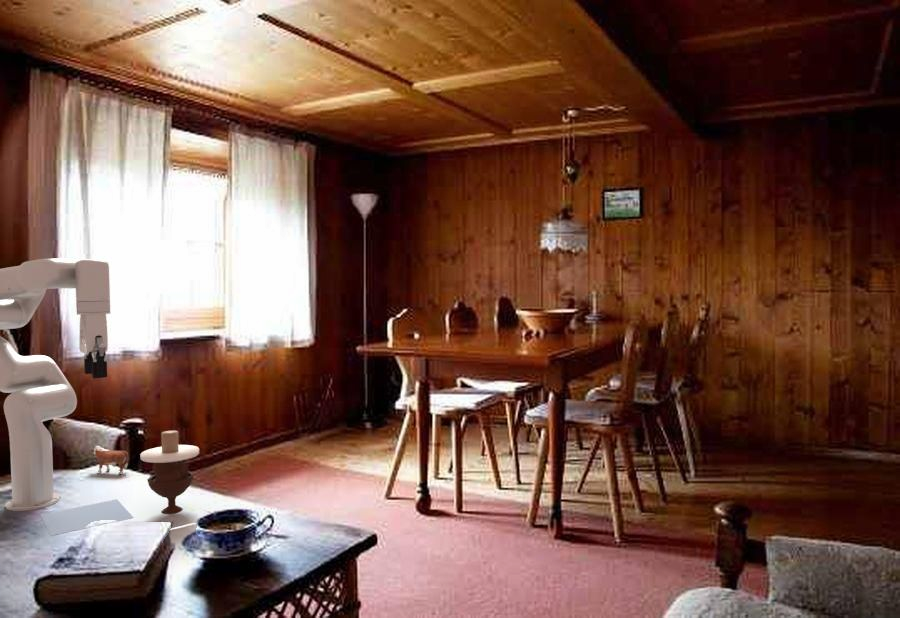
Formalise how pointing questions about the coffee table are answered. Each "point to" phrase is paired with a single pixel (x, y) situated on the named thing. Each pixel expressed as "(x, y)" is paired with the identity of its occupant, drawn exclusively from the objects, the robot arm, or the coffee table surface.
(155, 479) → the ice cream bowl
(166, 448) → the lid
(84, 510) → the mat
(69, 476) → the coffee table surface
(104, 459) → the bull figurine
